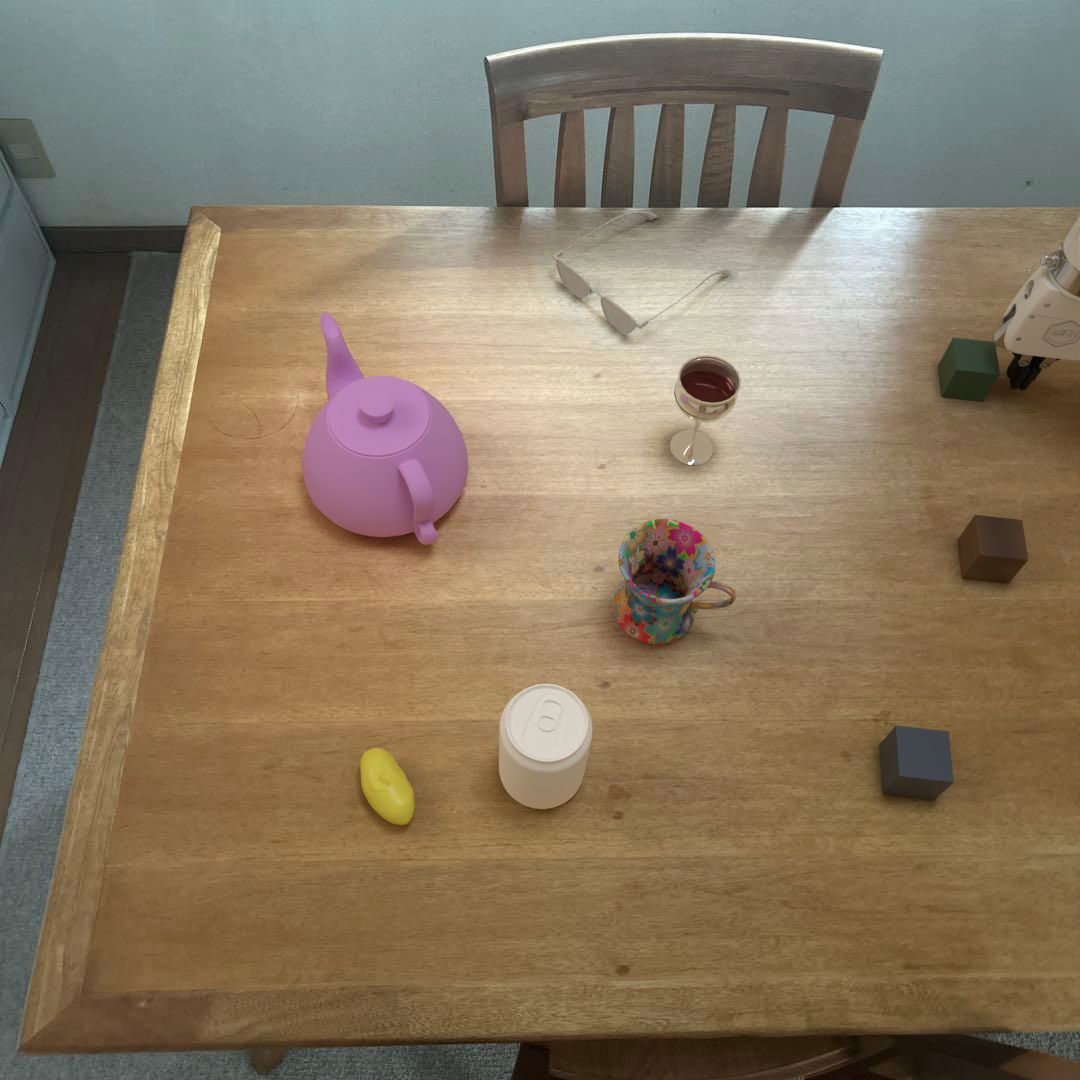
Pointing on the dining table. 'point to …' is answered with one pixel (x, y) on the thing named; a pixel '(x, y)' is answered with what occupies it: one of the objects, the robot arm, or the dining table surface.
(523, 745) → the beverage can
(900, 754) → the block
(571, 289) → the eyeglasses
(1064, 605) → the dining table surface
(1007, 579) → the walnut block
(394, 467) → the teapot
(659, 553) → the mug
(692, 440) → the wineglass
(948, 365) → the green block
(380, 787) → the yellow potato
